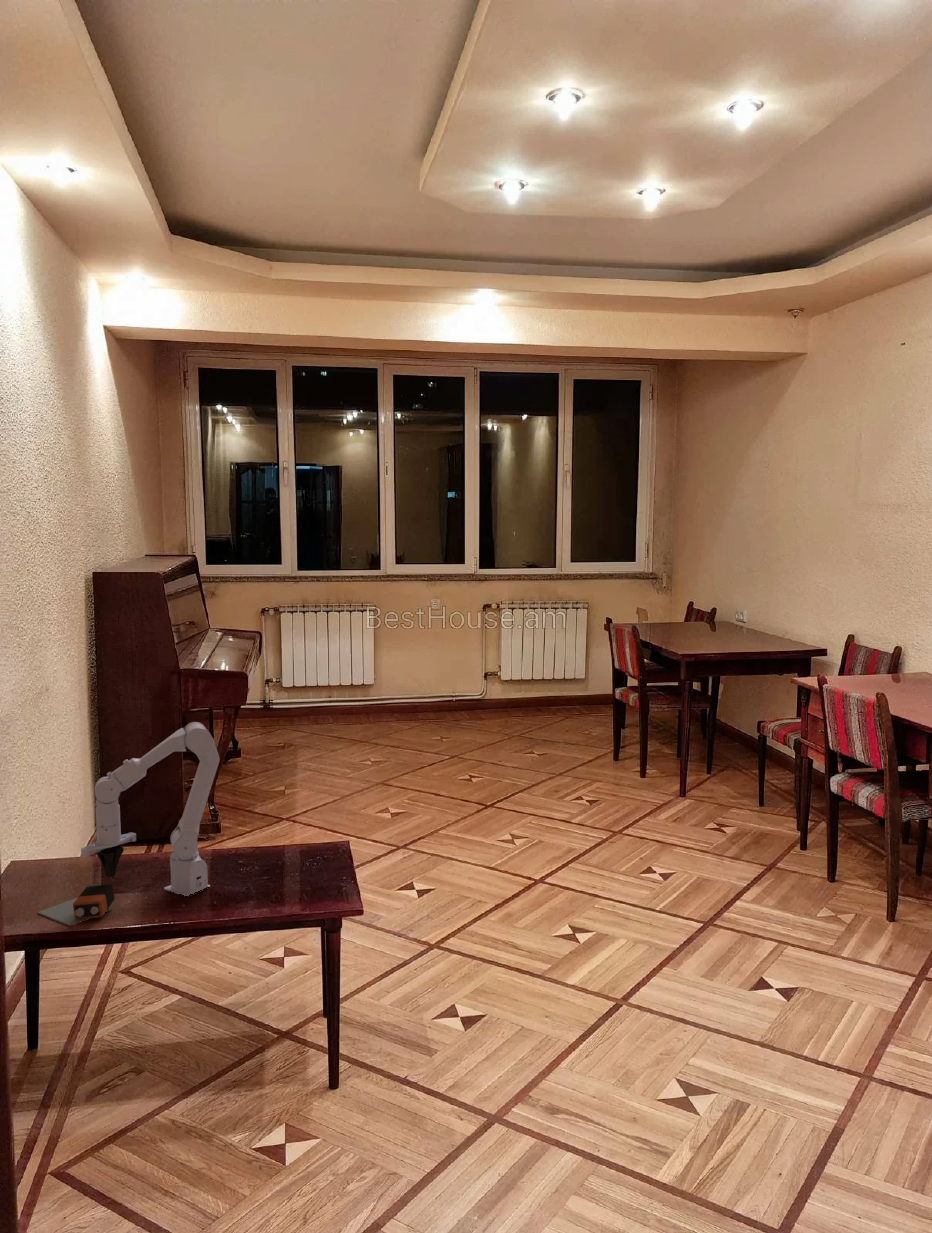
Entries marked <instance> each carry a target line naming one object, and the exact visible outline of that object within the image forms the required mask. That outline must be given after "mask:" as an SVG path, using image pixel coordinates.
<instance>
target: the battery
mask: <svg viewBox="0 0 932 1233" xmlns="http://www.w3.org/2000/svg"><path fill="white" fill-rule="evenodd" d="M115 897H116V896H115V890H114V885H113V884H101V885H92V886H91V885H89V886H86V887H85V888H84V889H83V890H82V891H81V893H80V894H79V895H78V898H77V897H76V898H77V899H76V901H75V902H74V903H73V909H74V916H75V919H85V918H91V919H94V918H102V917H103V916H104V915H105V914H106V913H105V912H106V911H107V909H108V908H110V906H111V905H112V903H113V902H114V900H115Z"/></svg>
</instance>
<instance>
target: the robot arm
mask: <svg viewBox="0 0 932 1233" xmlns="http://www.w3.org/2000/svg"><path fill="white" fill-rule="evenodd" d="M186 748H187V749H189V750H190V751H191V752H192V753H194V754H195V755H196V757H197V758H198V760H199V763H198V766H197V768H196V772H195V776H194V779H193V782H192V784H191V788H190V792H189V795H188V797H187V799H186V804H185V807H184V809H183V813H182V817H181V818H180V819H179V820H178V824H177V826H176V827H175V829H174V830H173V831H172V832H171V834H170V839H169V840H170V844H171V846H172V852H171V853H170V855H169V859H170V860H169V861H170V863H169V864H170V885H168V886H164V888H163V889H164V891H168V892H170V891H171V893H173V892H174V894H177V895H179V894H182V895H184V896H183V897H185V896H188V897H190V896H191V895H190V894H193V895H195V894H196V893H195V892H198V891H200V890H202V891H204V890H203V889H204V888H206V887H210V886H211V885H210V884H209V882H208V879H209V878H208V877H209V876H208V874H209V873H208V865H207V863H206V861H205V860H204V859H202V858H201V856H200V854H199V844H198V837H199V832H200V824H201V820H202V818H203V814H204V811H205V807H206V806H207V802H208V798H209V795H210V792H211V789H212V785H213V782H214V779H215V777H216V773H217V770H218V766H219V763H220V760H221V758H220V755H219V752H218V748H217V746H216V743H215V739H214V738H213V736H212V734H211V733H210V730H208V729H207V728H206V727H205V725H204V724H203V723H201V722H197V721H193V722H189V723H187V725H185V726H184V727H181V728H179V729H177V730H176V731H175V732H173V733H172V734H170V736H168V737H166V738H165V739H164V740H162V742H160V743H159V744H157V745H156V746H155V747H153V748H152V749H151V750H150V751H148V752H147V753H145V754H144V755H143V756H142V757H139V758H136V757H132V758H130V759H129V760H128V759H125V760H123V761H122V765H120V766H119V767H117V768H116V769H115V770H113V771H108V772H107V773H106V776H102V777H100V778H99V779H98V780H97V781H96V783H95V785H94V795H95V796H94V797H95V798H96V799H95V806H96V807H95V822H96V823H95V824H96V825H95V826H96V841H94V842H92V843H90V844H88V845H86V846H84V847H81V848H80V852H81V853H80V854H81V855H80V856H82V857H85V858H87V857H90V856H91V855H94V854H95V855H96V856H97V857H98V859H99V861H100V863H101V864H102V867H103V870H104V873H105V876H106V877H109V878H111V877H112V878H113V877H115V876H116V872H117V868H118V865H119V861H120V858H121V857H122V855H123V853H124V847H123V846H122V845H125V844H127V843H131V842H136V841H137V833H136V832H128V833H124V834H122V832H121V831H122V830H121V808H120V807H121V806H120V804H119V797H120V795H121V792H124V791H127V790H128V789H129V788H131V787H132V786H133V785H134V784H136V783H138V782H139V781H140V780H142V779H143V778H144V777H145V778H146V776H147V770H148V769H149V768H151V767H152V766H154V765H155V764H156V763H158V762H160V761H162V760H163V759H165V758H166V757H168V756H169V755H172V754H173V753H174V752H187V749H186ZM210 888H211V887H210ZM200 892H201V891H200ZM194 893H195V894H194ZM198 893H199V892H198ZM182 895H181V896H182ZM189 895H190V896H189Z"/></svg>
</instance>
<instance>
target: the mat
mask: <svg viewBox="0 0 932 1233" xmlns="http://www.w3.org/2000/svg"><path fill="white" fill-rule="evenodd" d="M78 897H79V896H78ZM78 897H75V898H72V899H70V900H66V901H64V902H61V903H59V904H56V905H53V906H50V907H48V908H45V909H42V910H40V911H37V914H38V915H40V916H43V917H45V918H48V919H50V920H52V921H55V922H57V923H60V924H62V923H63V925H65V924H67V925H69V926H68V927H70V926H71V925H73V924H76V925H78V924H77V923H79V922H80V921H84V922H86V921H88V920H87V919H88V918H85V919H75V916H74V909H73V903H74V902H75V901H76V899H77V898H78ZM108 911H109V912H111V911H112V909H111V908H110V907H109V908H108V909H107V911H106V912H107V913H109V912H108ZM85 920H86V921H85ZM79 924H80V923H79ZM67 925H66V926H67ZM71 927H72V926H71Z"/></svg>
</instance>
